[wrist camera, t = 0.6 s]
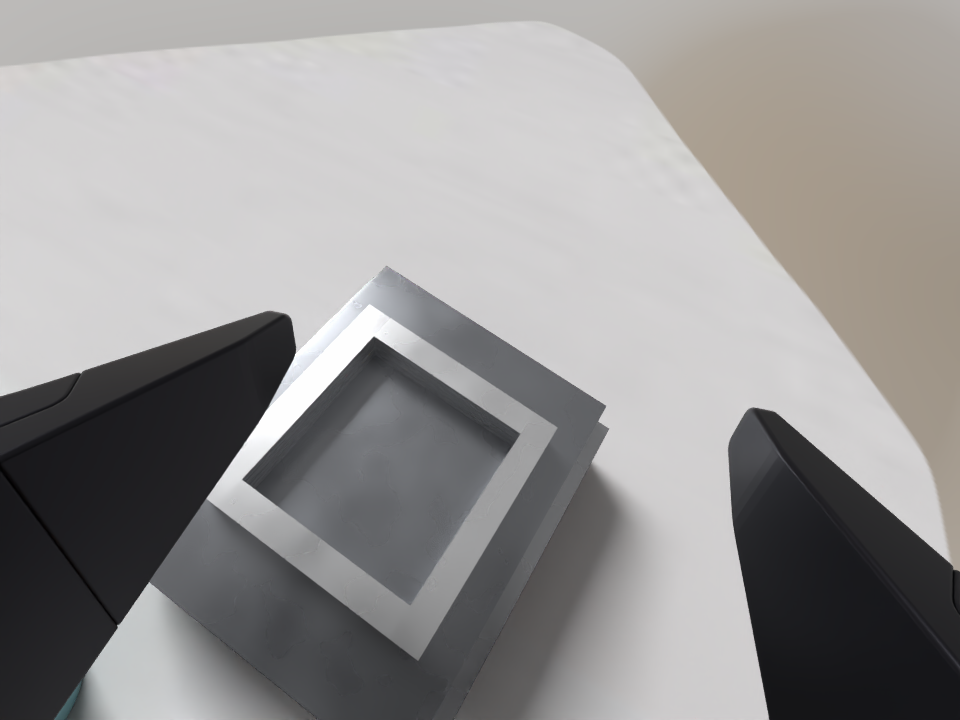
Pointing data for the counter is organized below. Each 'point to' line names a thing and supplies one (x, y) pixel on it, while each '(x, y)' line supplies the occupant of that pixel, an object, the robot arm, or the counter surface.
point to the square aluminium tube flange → (386, 509)
